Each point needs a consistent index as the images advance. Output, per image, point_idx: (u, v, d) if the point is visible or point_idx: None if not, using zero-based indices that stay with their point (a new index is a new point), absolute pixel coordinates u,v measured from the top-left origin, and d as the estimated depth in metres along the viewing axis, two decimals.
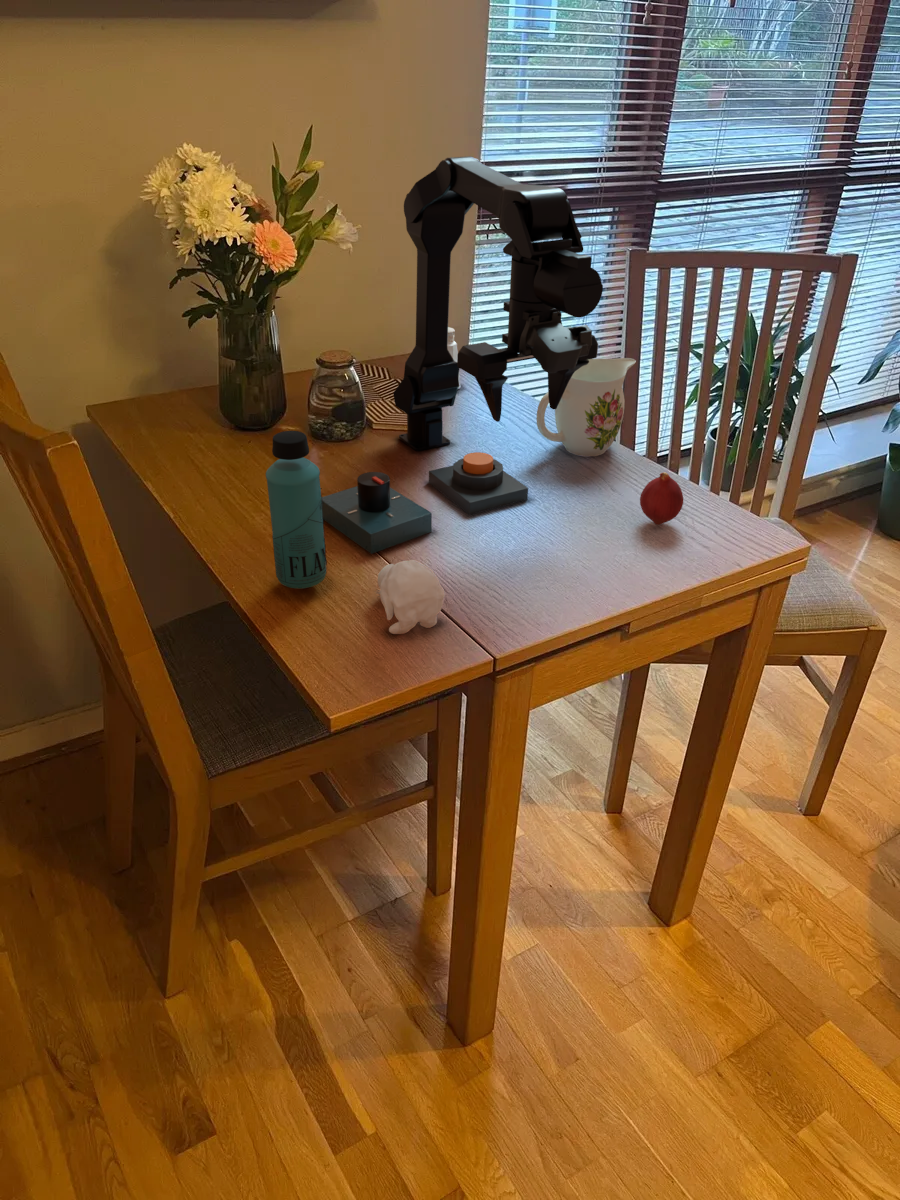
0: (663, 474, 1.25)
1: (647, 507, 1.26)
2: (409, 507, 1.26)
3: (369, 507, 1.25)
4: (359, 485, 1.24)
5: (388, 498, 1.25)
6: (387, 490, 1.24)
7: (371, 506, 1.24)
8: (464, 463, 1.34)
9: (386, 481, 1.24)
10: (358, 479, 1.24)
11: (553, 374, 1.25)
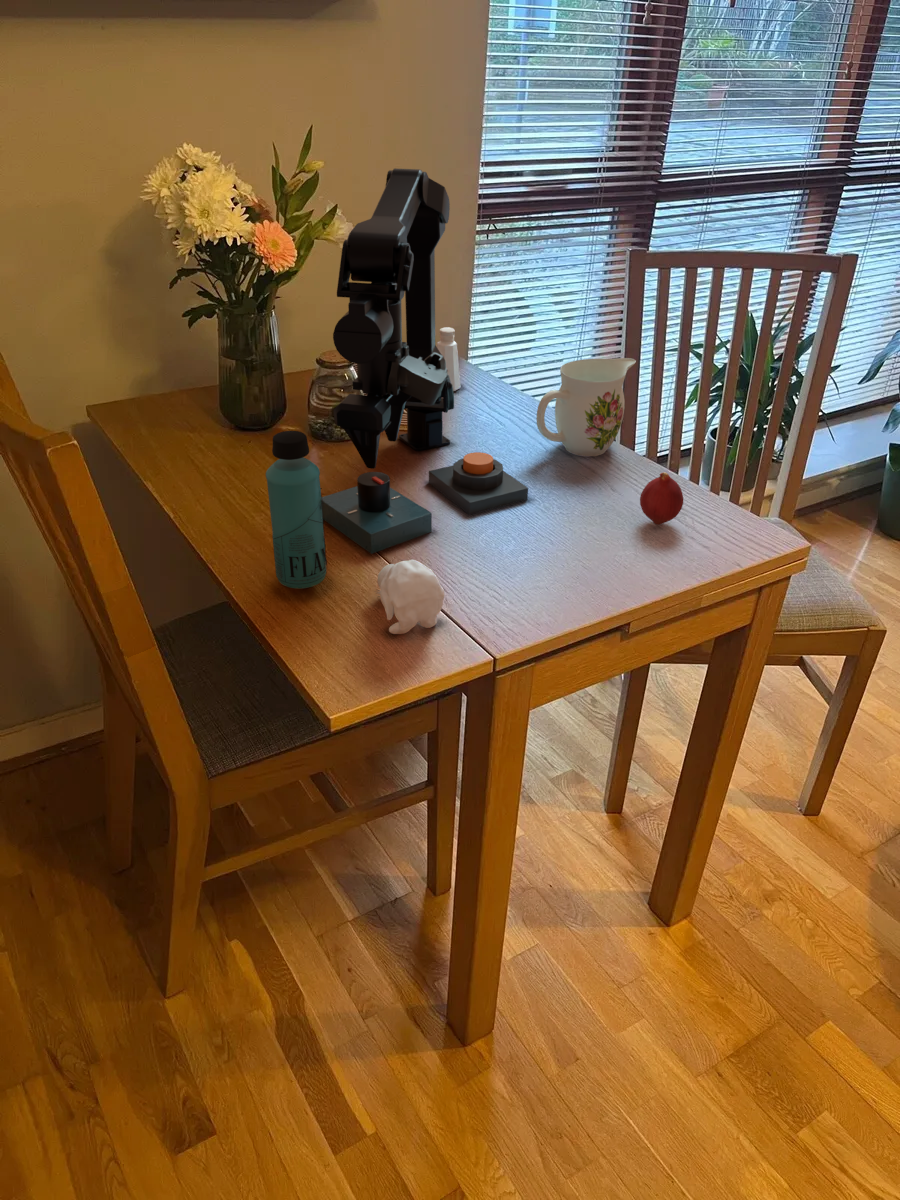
0: (663, 474, 1.25)
1: (647, 507, 1.26)
2: (409, 507, 1.26)
3: (369, 507, 1.25)
4: (359, 485, 1.24)
5: (388, 498, 1.25)
6: (387, 490, 1.24)
7: (371, 506, 1.24)
8: (464, 463, 1.34)
9: (386, 481, 1.24)
10: (358, 479, 1.24)
11: None
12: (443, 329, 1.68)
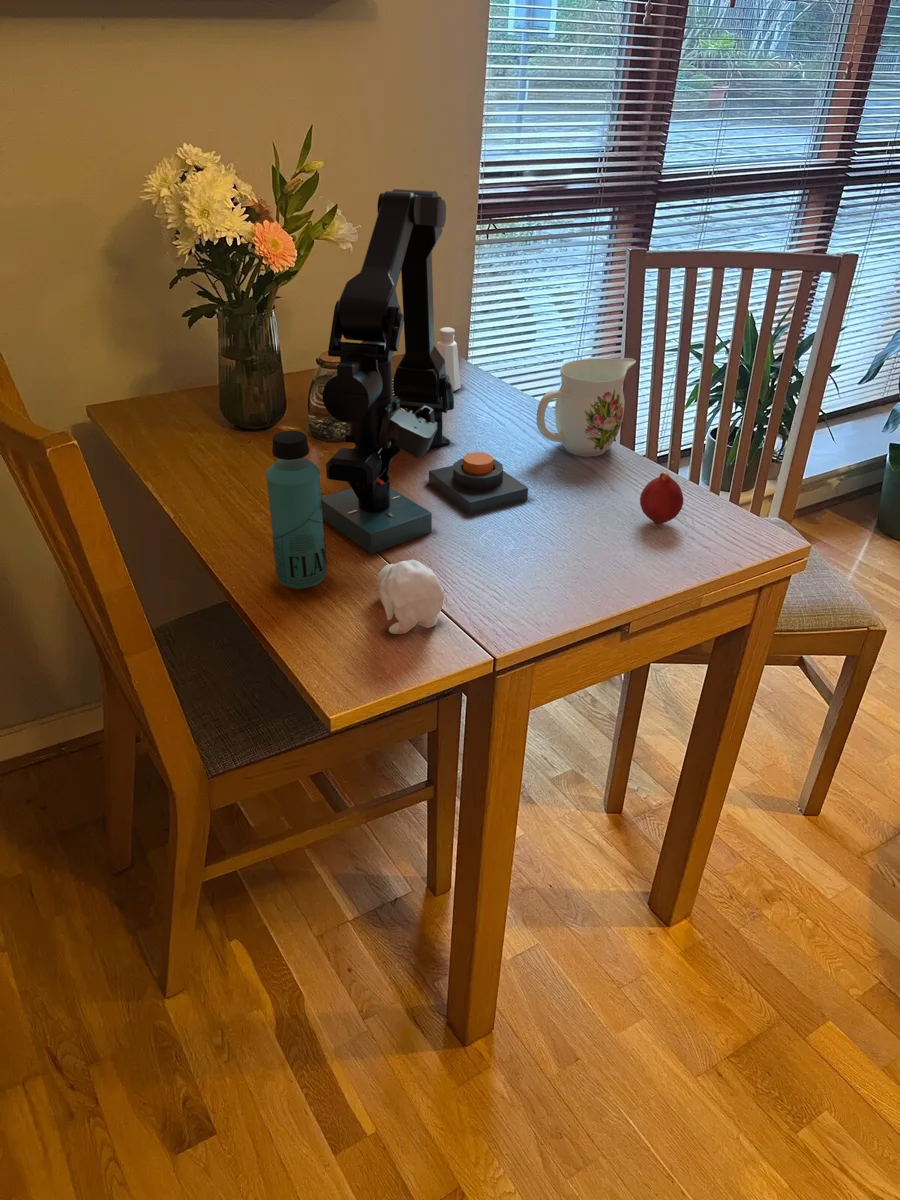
0: (663, 474, 1.25)
1: (647, 507, 1.26)
2: (409, 507, 1.26)
3: None
4: None
5: (388, 498, 1.25)
6: (387, 490, 1.24)
7: None
8: (464, 463, 1.34)
9: (386, 481, 1.24)
10: None
11: None
12: (443, 329, 1.68)
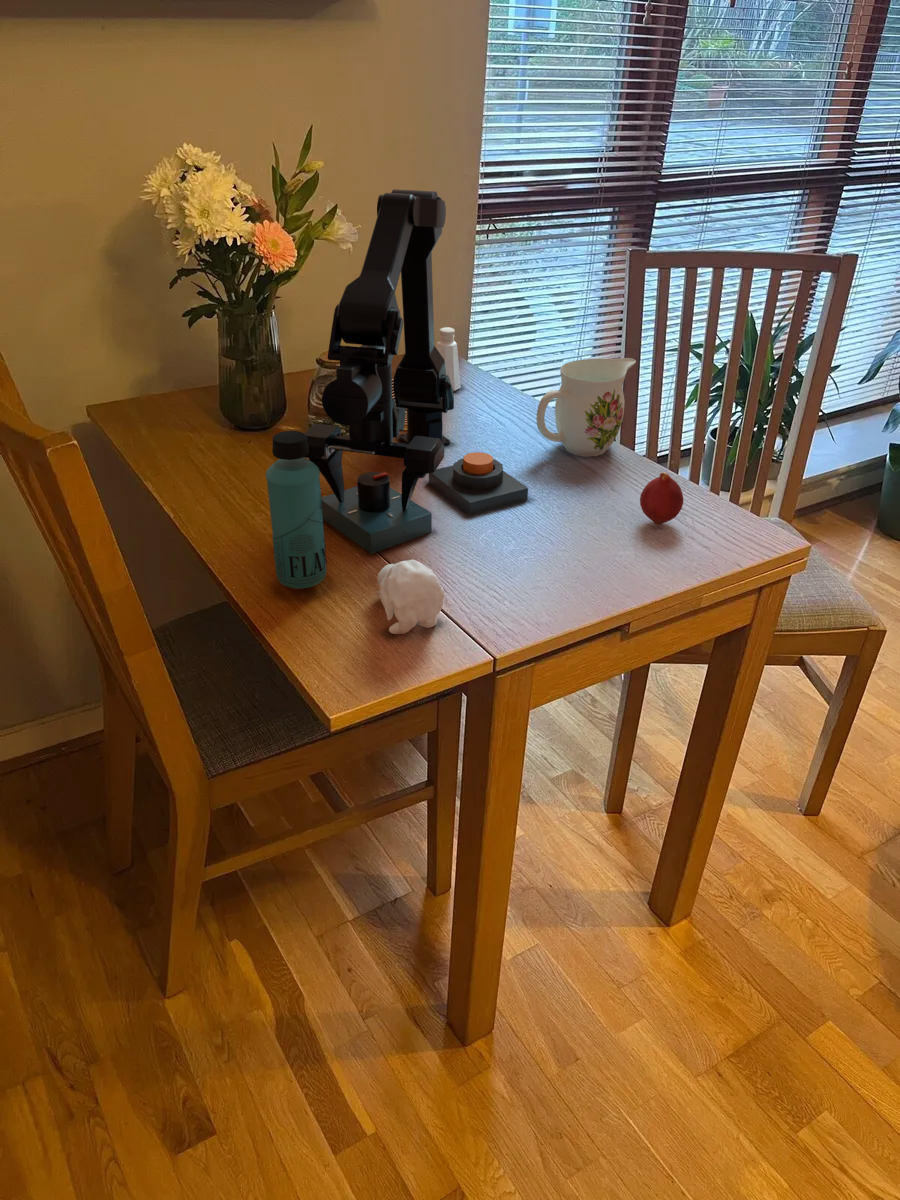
0: (663, 474, 1.25)
1: (647, 507, 1.26)
2: (409, 507, 1.26)
3: (389, 501, 1.26)
4: (381, 487, 1.23)
5: None
6: None
7: None
8: (464, 463, 1.34)
9: (380, 472, 1.26)
10: (374, 485, 1.23)
11: (336, 473, 1.25)
12: (443, 329, 1.68)
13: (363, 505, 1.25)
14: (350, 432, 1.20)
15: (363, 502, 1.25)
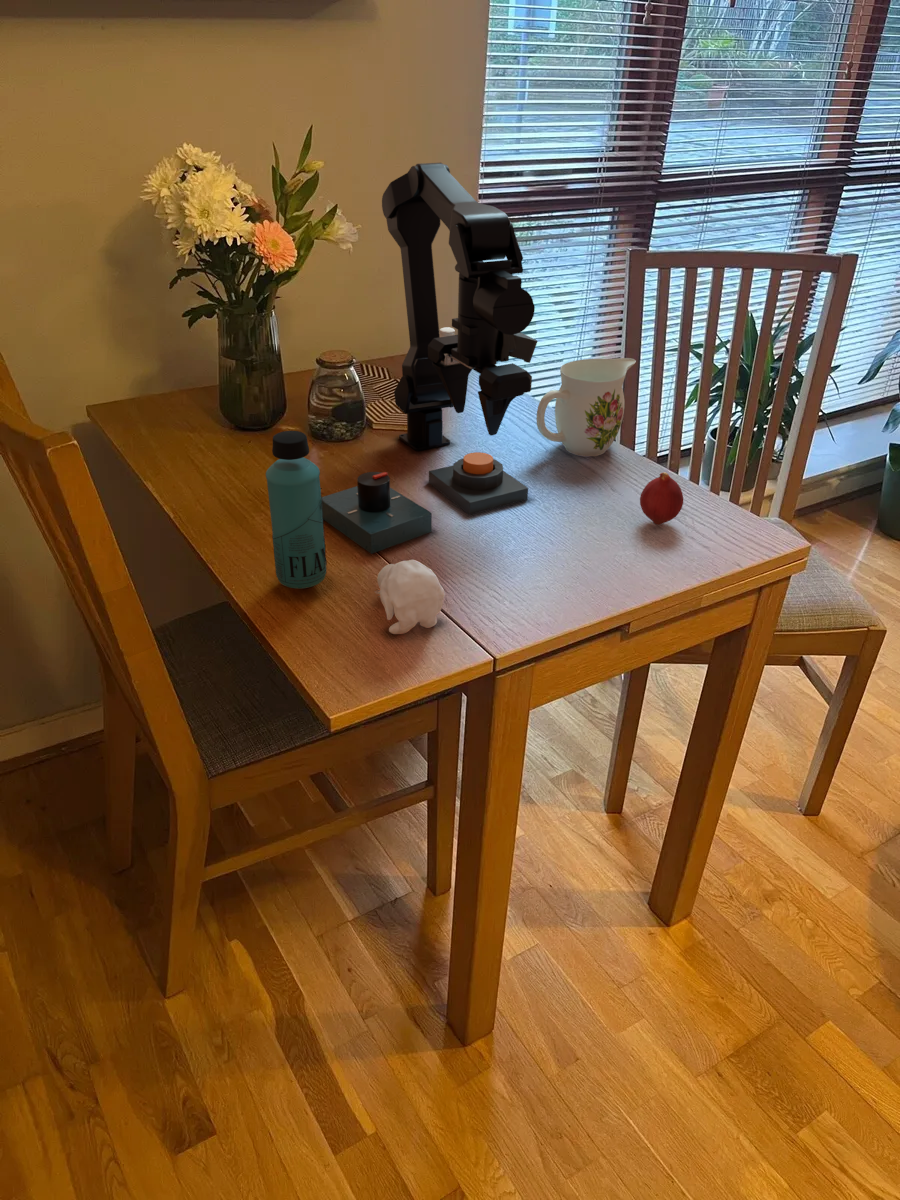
0: (663, 474, 1.25)
1: (647, 507, 1.26)
2: (409, 507, 1.26)
3: (389, 501, 1.26)
4: (381, 487, 1.23)
5: None
6: None
7: None
8: (464, 463, 1.34)
9: (380, 472, 1.26)
10: (374, 485, 1.23)
11: (455, 382, 1.32)
12: (443, 329, 1.68)
13: (363, 505, 1.25)
14: None
15: (363, 502, 1.25)
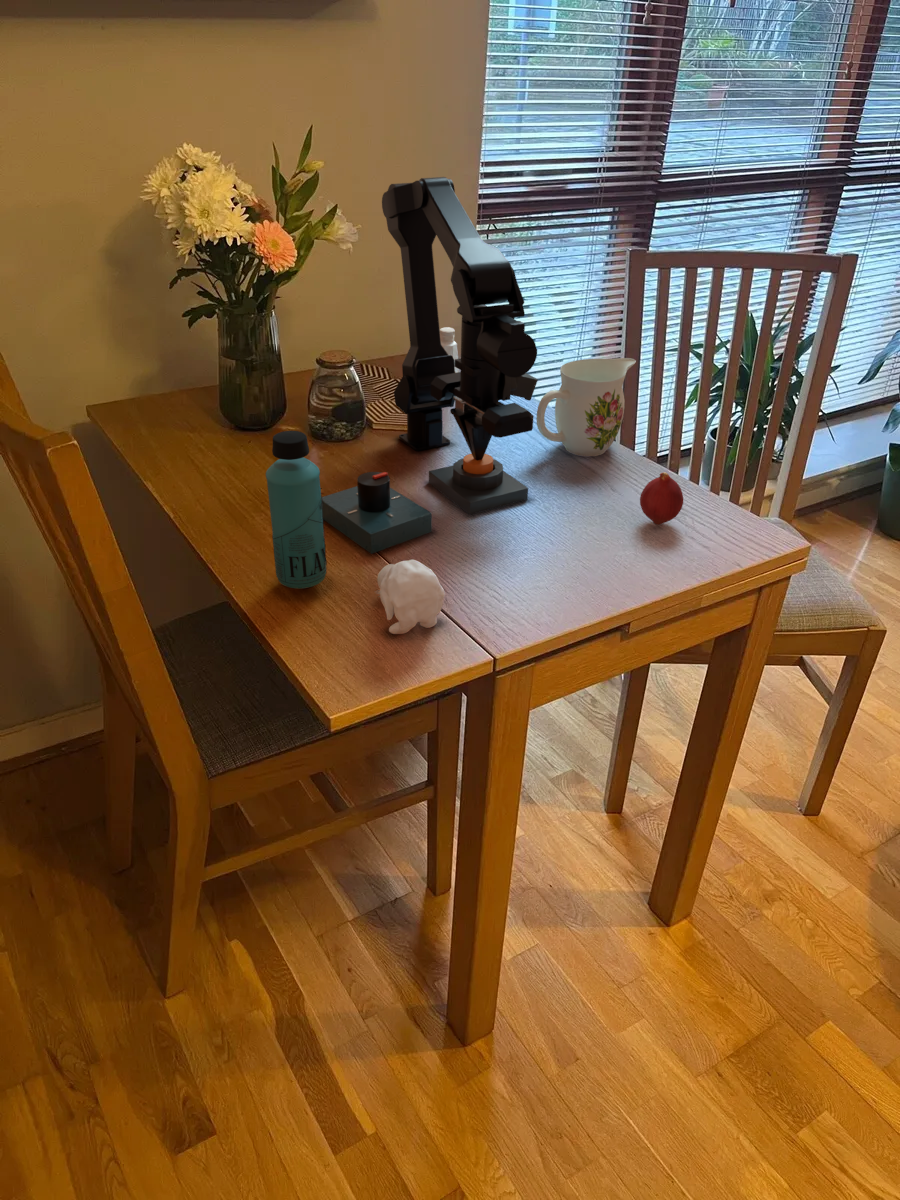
0: (663, 474, 1.25)
1: (647, 507, 1.26)
2: (409, 507, 1.26)
3: (389, 501, 1.26)
4: (381, 487, 1.23)
5: None
6: None
7: None
8: (464, 464, 1.34)
9: (380, 472, 1.26)
10: (374, 485, 1.23)
11: None
12: (443, 329, 1.68)
13: (363, 505, 1.25)
14: None
15: (363, 502, 1.25)
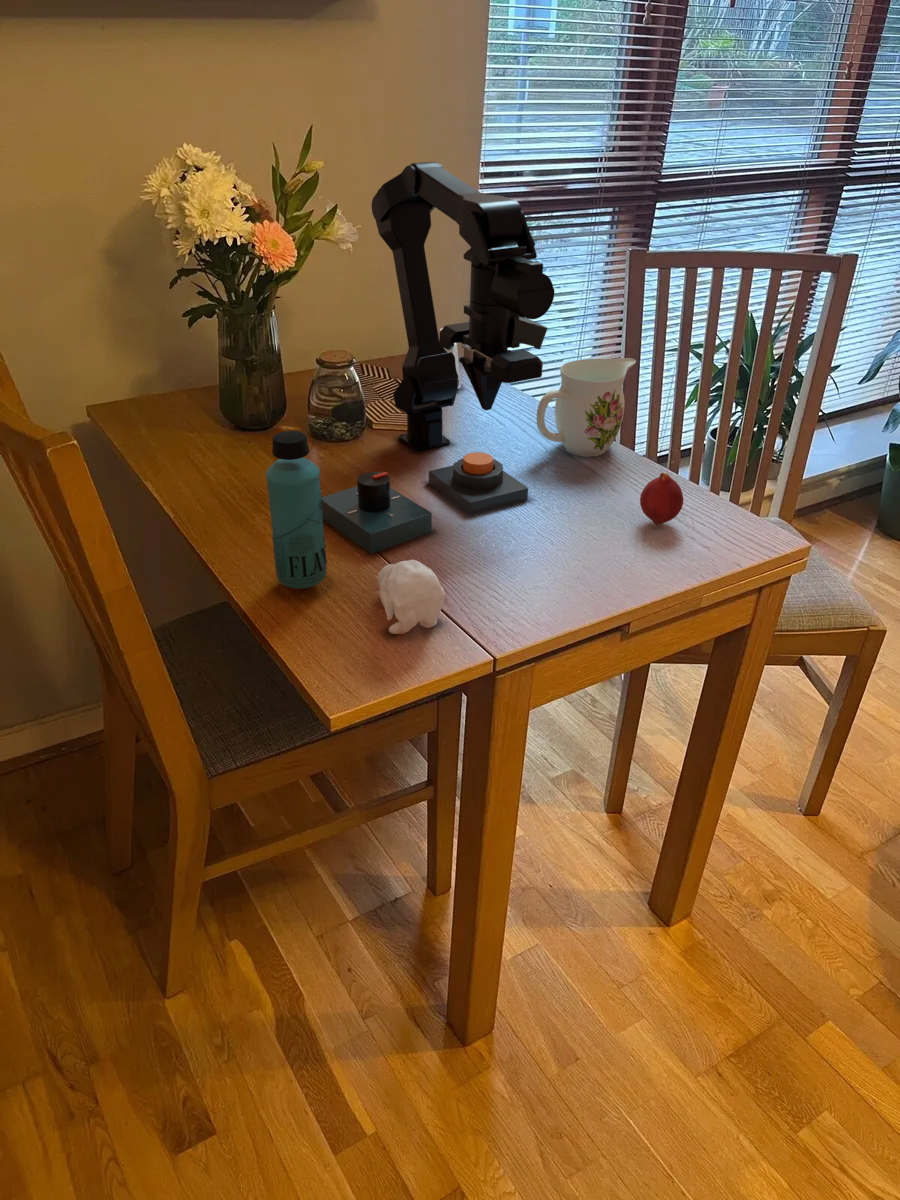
0: (663, 474, 1.25)
1: (647, 507, 1.26)
2: (409, 507, 1.26)
3: (389, 501, 1.26)
4: (381, 487, 1.23)
5: None
6: None
7: None
8: (464, 463, 1.34)
9: (380, 472, 1.26)
10: (374, 485, 1.23)
11: None
12: None
13: (363, 505, 1.25)
14: None
15: (363, 502, 1.25)
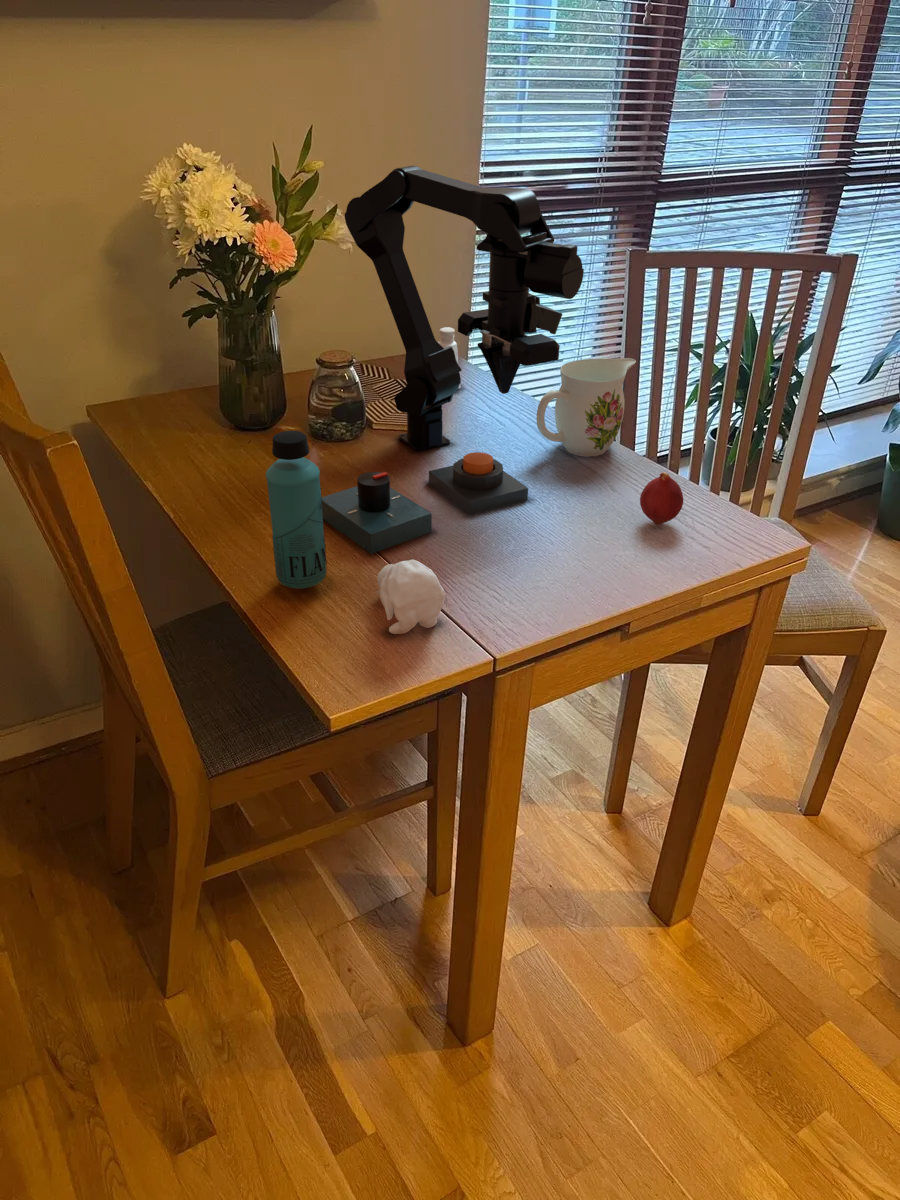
0: (663, 474, 1.25)
1: (647, 507, 1.26)
2: (409, 507, 1.26)
3: (389, 501, 1.26)
4: (381, 487, 1.23)
5: None
6: None
7: None
8: (464, 463, 1.34)
9: (380, 472, 1.26)
10: (374, 485, 1.23)
11: None
12: (443, 329, 1.68)
13: (363, 505, 1.25)
14: None
15: (363, 502, 1.25)
